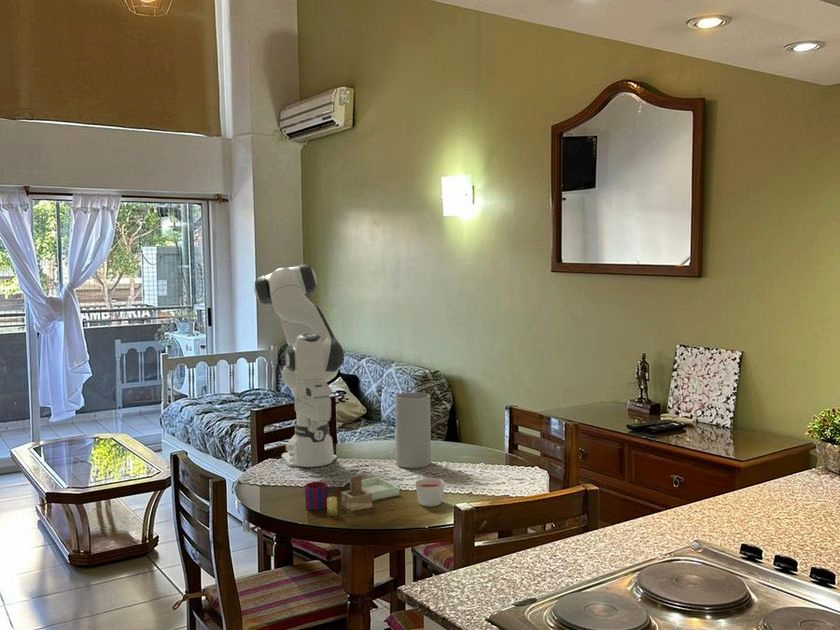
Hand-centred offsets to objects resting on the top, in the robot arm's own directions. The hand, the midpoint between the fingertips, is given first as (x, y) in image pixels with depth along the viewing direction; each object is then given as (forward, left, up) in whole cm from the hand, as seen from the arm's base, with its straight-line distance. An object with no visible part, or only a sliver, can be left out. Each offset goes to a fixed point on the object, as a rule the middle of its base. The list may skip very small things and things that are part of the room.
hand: (312, 431), depth 237 cm
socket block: (+12, +8, -22) cm, 26 cm away
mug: (+7, -1, -22) cm, 23 cm away
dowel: (+12, +8, -22) cm, 26 cm away
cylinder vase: (-17, +46, -22) cm, 54 cm away
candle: (+22, +28, -22) cm, 42 cm away
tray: (+4, +19, -22) cm, 29 cm away
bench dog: (+15, -1, -22) cm, 26 cm away
